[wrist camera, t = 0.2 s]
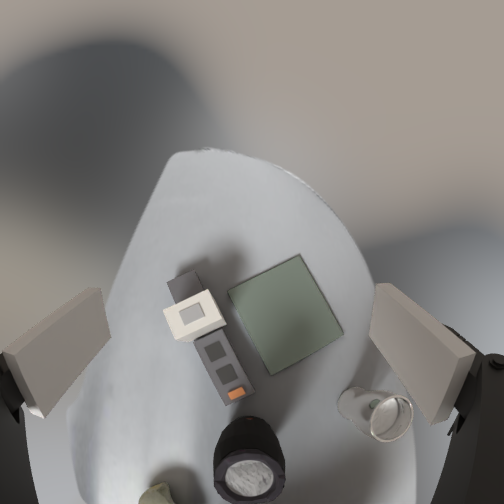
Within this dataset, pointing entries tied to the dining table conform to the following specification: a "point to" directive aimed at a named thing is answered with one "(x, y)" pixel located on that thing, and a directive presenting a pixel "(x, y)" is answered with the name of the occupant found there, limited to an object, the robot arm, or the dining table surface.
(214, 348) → the power strip
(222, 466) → the portable speaker
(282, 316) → the mat
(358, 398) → the beer glass
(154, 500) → the seashell
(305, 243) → the dining table surface
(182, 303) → the block
